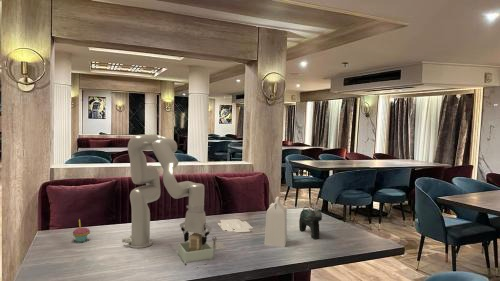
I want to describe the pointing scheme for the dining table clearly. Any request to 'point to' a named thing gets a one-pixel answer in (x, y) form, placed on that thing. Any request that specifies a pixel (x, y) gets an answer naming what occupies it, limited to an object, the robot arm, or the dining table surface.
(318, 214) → the dark grey animal figurine
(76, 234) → the cupcake
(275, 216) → the milk
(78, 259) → the dining table surface
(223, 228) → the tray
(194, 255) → the bin
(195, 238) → the strut
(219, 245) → the stud plate
